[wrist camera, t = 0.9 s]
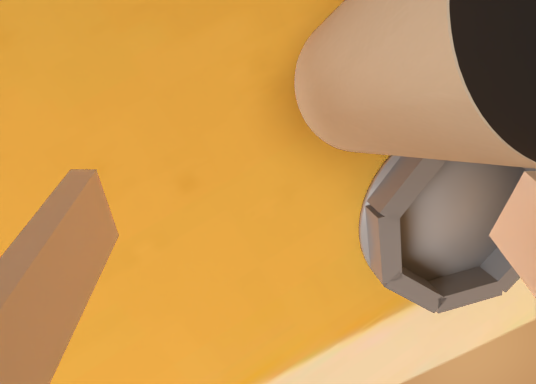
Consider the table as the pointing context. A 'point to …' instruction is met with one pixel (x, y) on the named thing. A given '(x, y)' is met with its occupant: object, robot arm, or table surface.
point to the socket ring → (438, 230)
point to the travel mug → (424, 80)
